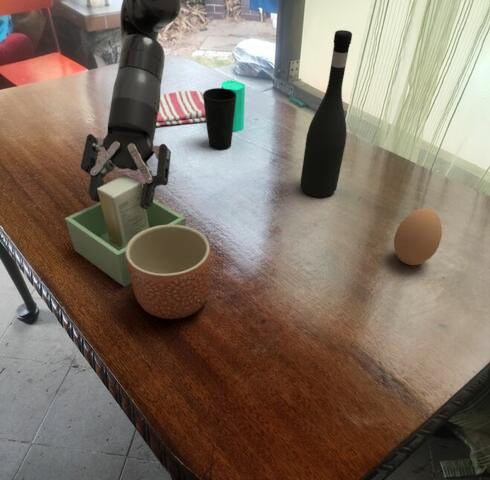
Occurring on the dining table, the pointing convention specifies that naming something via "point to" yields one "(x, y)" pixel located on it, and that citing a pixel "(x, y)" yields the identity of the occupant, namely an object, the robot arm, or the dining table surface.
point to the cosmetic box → (122, 210)
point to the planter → (169, 270)
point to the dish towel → (181, 108)
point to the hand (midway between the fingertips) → (119, 204)
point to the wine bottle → (327, 129)
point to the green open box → (98, 243)
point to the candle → (237, 102)
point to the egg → (418, 236)
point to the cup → (219, 116)
